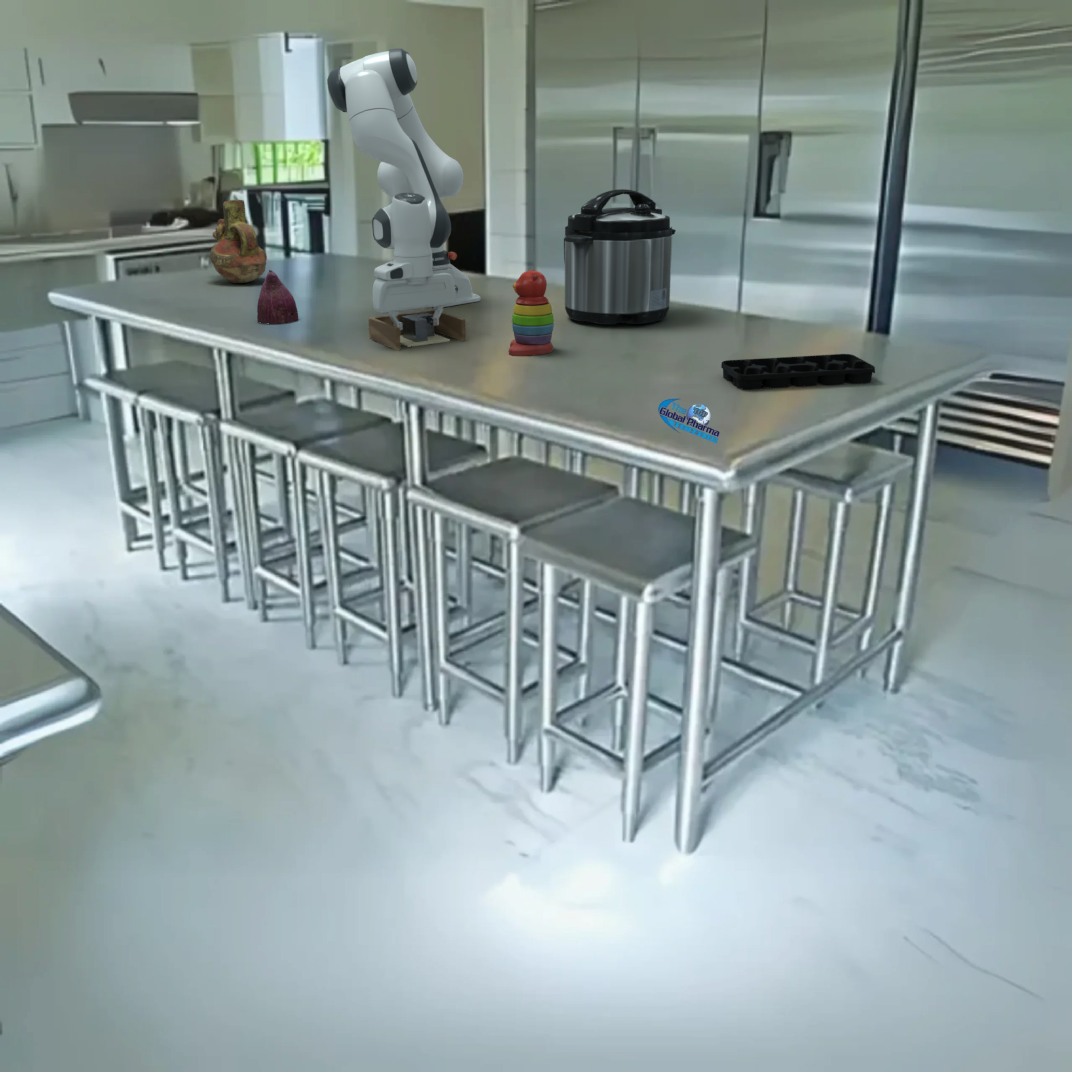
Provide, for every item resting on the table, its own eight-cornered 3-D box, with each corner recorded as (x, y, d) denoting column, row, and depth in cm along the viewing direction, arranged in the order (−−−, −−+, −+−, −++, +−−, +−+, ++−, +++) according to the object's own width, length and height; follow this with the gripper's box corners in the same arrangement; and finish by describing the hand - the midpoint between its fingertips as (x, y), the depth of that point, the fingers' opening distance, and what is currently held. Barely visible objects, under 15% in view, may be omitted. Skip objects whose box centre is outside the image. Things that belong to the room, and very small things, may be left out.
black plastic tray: (885, 384, 213) (887, 365, 212) (756, 400, 203) (757, 380, 202) (831, 365, 229) (833, 347, 227) (708, 379, 218) (709, 361, 217)
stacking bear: (510, 345, 248) (508, 267, 241) (554, 345, 248) (553, 266, 241) (507, 356, 238) (506, 274, 231) (553, 355, 238) (553, 274, 231)
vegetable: (289, 337, 275) (284, 282, 266) (251, 330, 276) (245, 276, 267) (305, 319, 283) (301, 265, 274) (268, 312, 285) (263, 259, 275)
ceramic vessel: (244, 274, 352) (235, 194, 343) (285, 283, 334) (277, 199, 325) (195, 280, 341) (185, 198, 332) (235, 290, 324) (225, 203, 314)
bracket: (402, 337, 256) (401, 316, 254) (428, 333, 259) (427, 312, 257) (416, 342, 250) (415, 320, 248) (442, 338, 254) (441, 317, 252)
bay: (436, 329, 265) (435, 309, 263) (466, 340, 253) (465, 319, 251) (369, 338, 256) (368, 317, 254) (396, 350, 244) (395, 328, 243)
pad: (428, 333, 261) (428, 331, 261) (449, 341, 253) (449, 339, 253) (387, 338, 256) (387, 337, 256) (407, 347, 247) (407, 345, 247)
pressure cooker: (657, 305, 292) (661, 183, 280) (688, 326, 266) (694, 192, 254) (549, 310, 288) (548, 186, 276) (570, 331, 262) (570, 195, 250)
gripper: (447, 262, 254) (449, 320, 259) (367, 270, 244) (371, 330, 249) (459, 265, 249) (462, 324, 254) (379, 273, 239) (383, 335, 244)
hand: (416, 327), depth 252 cm, fingers open, 8 cm apart
